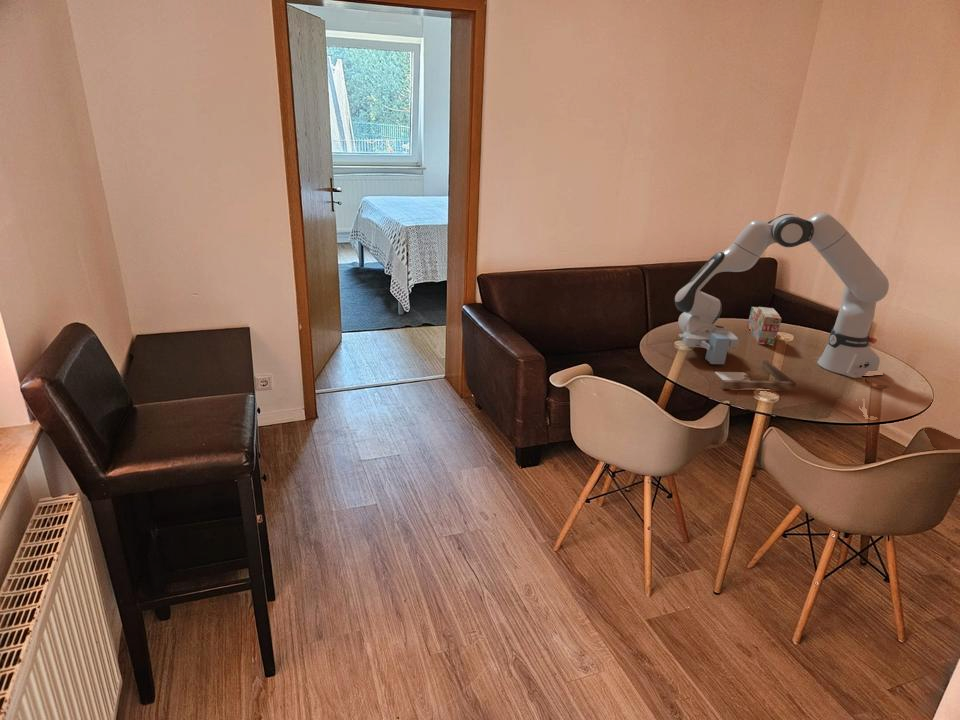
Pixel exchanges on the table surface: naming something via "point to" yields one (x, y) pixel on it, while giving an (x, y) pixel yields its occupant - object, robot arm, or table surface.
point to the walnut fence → (780, 385)
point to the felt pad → (731, 375)
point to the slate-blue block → (718, 348)
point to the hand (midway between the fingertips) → (719, 348)
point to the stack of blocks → (764, 324)
